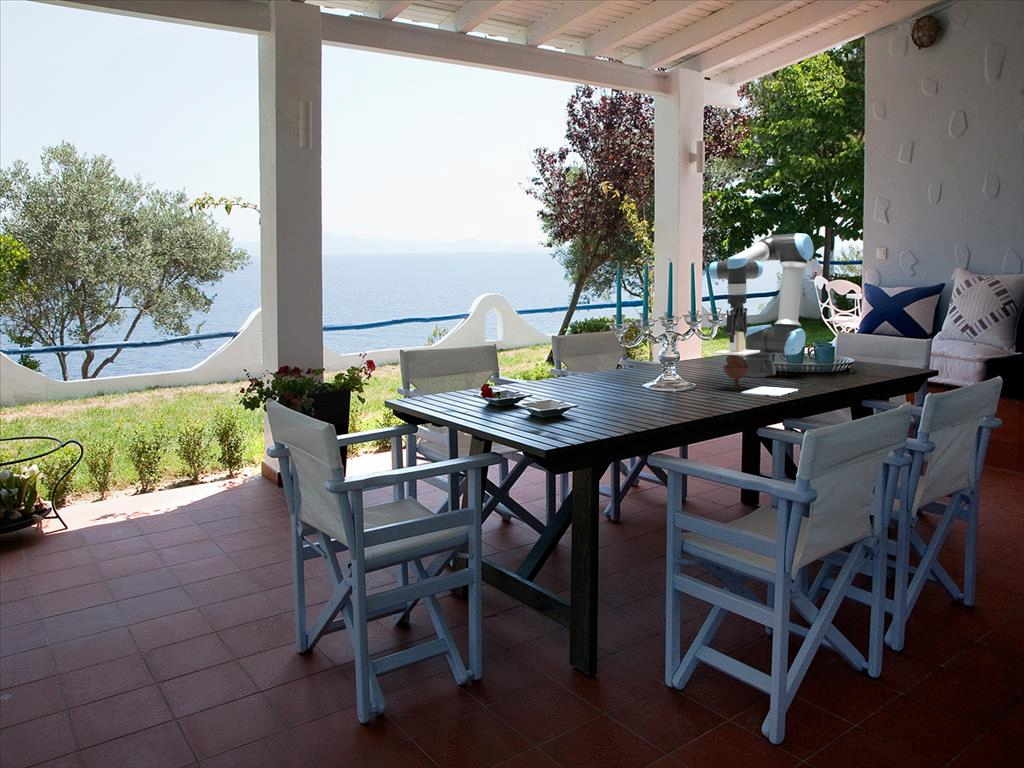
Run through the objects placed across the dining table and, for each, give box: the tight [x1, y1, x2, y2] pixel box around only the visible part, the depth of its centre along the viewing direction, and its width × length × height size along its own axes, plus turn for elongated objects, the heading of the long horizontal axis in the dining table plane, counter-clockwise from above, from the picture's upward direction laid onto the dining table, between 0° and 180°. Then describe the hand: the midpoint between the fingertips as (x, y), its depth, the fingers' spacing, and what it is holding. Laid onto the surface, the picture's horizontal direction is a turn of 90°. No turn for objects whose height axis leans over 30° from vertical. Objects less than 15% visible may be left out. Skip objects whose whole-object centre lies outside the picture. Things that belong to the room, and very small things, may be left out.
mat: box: [741, 386, 800, 397], centre depth 343 cm, size 18×16×1 cm
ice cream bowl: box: [722, 355, 750, 390], centre depth 355 cm, size 11×11×15 cm
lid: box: [712, 331, 760, 357], centre depth 353 cm, size 14×14×9 cm
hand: (736, 349), depth 353 cm, fingers open, 6 cm apart
